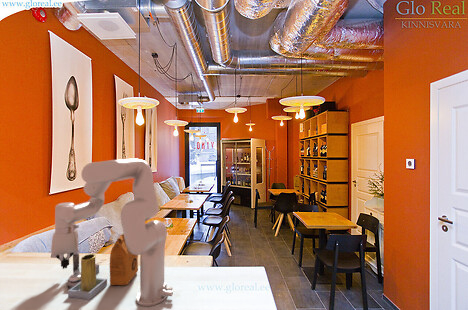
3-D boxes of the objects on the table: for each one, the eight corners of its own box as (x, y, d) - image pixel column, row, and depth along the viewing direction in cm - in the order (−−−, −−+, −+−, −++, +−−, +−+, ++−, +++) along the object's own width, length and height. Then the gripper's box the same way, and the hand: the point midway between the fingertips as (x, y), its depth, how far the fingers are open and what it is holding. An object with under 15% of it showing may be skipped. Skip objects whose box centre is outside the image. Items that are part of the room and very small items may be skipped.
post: (99, 272, 111) (99, 264, 110) (96, 274, 109) (96, 266, 109) (95, 272, 111) (95, 264, 111) (93, 274, 109) (92, 266, 109)
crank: (84, 279, 101) (84, 262, 100) (69, 284, 97) (69, 265, 97) (83, 267, 110) (82, 251, 110) (69, 271, 107) (68, 254, 107)
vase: (84, 295, 92) (84, 261, 92) (77, 290, 95) (77, 257, 95) (99, 287, 97) (99, 255, 97) (92, 283, 101) (92, 252, 100)
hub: (89, 280, 104) (89, 275, 104) (77, 289, 97) (77, 285, 97) (76, 278, 105) (76, 274, 105) (63, 287, 98) (63, 283, 98)
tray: (107, 285, 101) (106, 279, 101) (89, 300, 91) (89, 293, 91) (87, 282, 102) (87, 276, 102) (68, 297, 92) (68, 290, 92)
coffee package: (141, 272, 111) (141, 229, 110) (126, 288, 99) (126, 239, 98) (122, 271, 112) (122, 228, 111) (106, 286, 100) (105, 238, 99)
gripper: (84, 224, 112) (84, 260, 113) (46, 229, 104) (46, 267, 105) (83, 229, 105) (83, 267, 106) (42, 234, 98) (42, 275, 99)
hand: (65, 267), depth 106 cm, fingers closed
